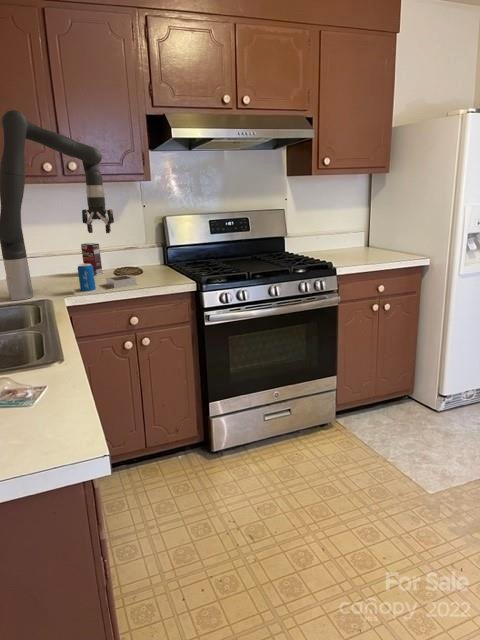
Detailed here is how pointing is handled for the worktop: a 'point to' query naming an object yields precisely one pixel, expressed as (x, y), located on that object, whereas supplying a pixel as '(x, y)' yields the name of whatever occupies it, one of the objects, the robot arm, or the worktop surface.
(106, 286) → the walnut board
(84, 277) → the beverage can
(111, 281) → the metal collar
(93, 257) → the supplement box
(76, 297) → the worktop surface
